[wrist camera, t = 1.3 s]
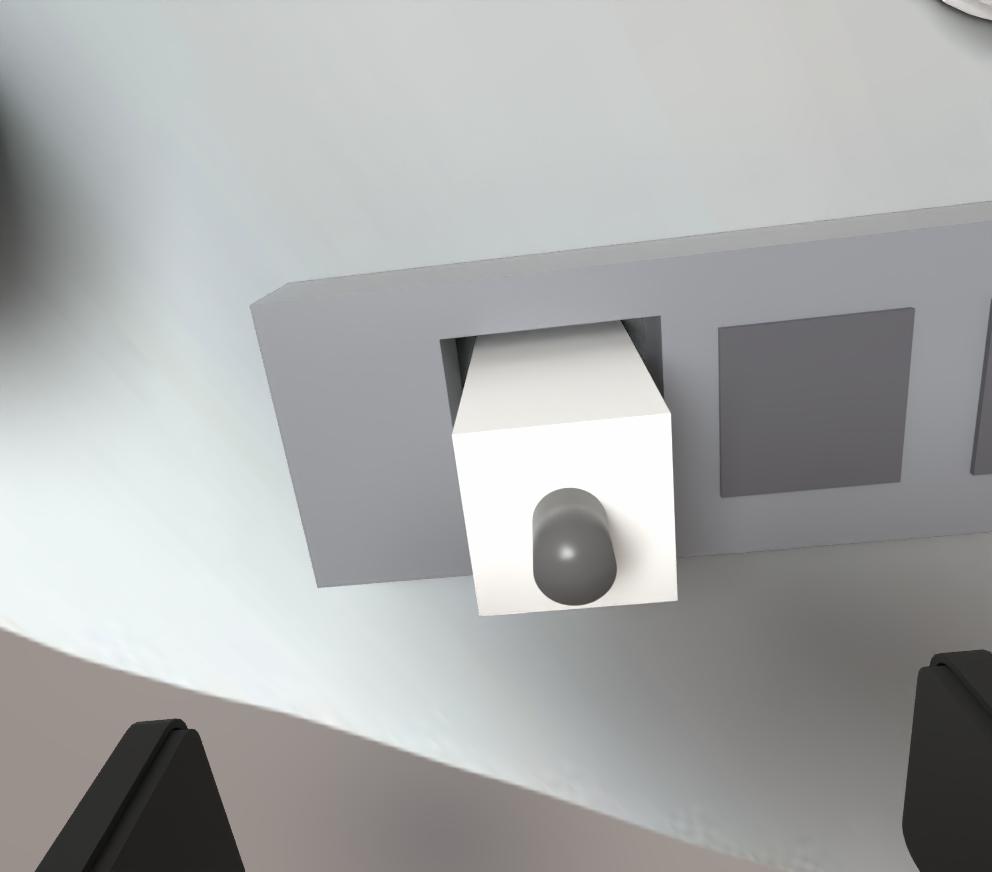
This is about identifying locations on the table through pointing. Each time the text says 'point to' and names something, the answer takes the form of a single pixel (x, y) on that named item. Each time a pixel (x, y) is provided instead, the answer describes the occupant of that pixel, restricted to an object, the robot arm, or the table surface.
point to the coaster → (973, 7)
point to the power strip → (663, 385)
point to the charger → (565, 472)
